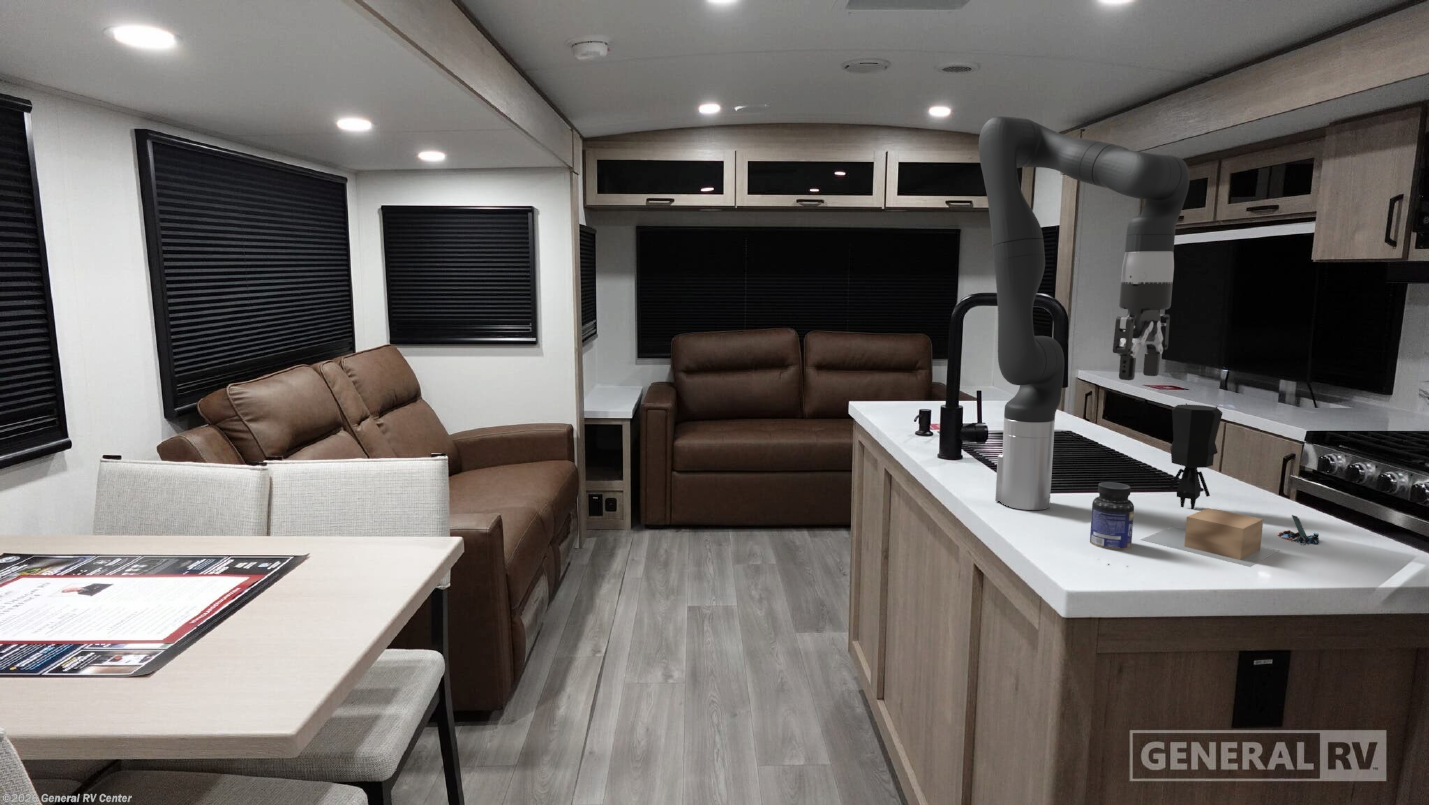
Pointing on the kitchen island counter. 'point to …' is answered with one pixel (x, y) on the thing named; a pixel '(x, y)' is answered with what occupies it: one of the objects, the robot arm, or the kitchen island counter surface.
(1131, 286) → the robot arm
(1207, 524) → the wooden block
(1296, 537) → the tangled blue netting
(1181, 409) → the toy
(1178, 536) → the build plate
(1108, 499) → the pill bottle
